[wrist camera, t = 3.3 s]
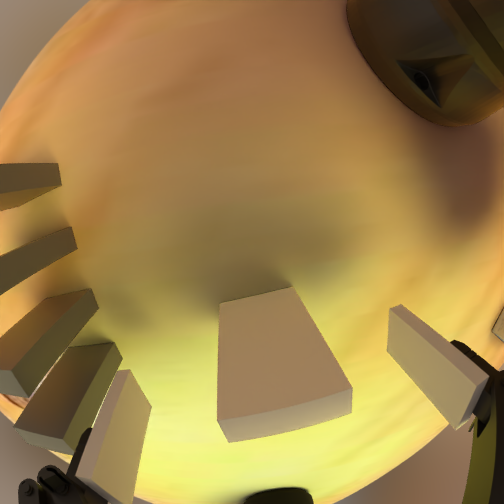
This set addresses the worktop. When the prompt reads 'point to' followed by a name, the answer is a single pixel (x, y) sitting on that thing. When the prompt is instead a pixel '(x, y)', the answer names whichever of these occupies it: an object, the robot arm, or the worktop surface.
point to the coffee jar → (281, 497)
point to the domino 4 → (69, 398)
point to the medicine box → (499, 327)
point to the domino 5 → (275, 368)
